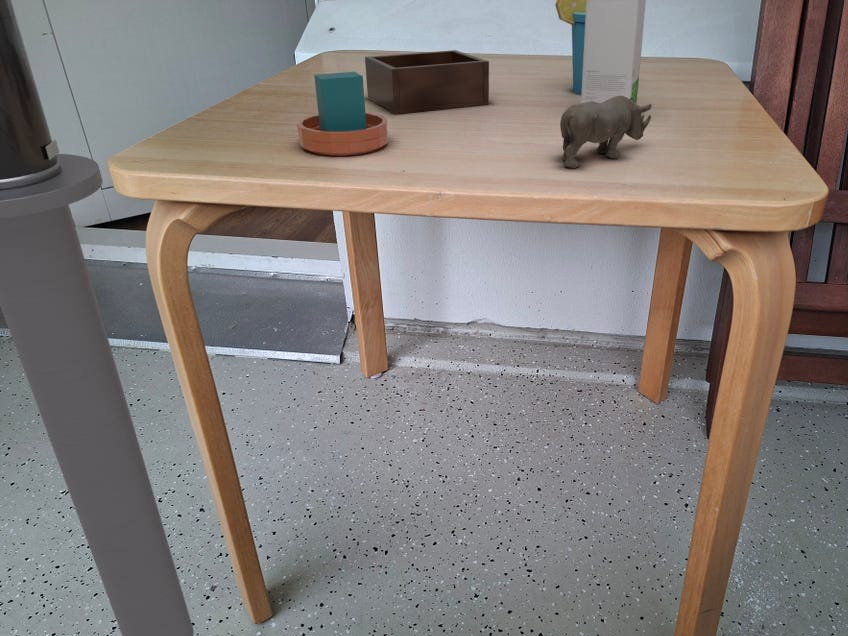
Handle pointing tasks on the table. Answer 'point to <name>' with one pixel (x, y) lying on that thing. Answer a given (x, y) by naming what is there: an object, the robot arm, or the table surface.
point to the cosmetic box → (612, 49)
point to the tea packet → (340, 101)
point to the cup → (575, 35)
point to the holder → (427, 81)
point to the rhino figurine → (601, 126)
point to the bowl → (343, 137)
